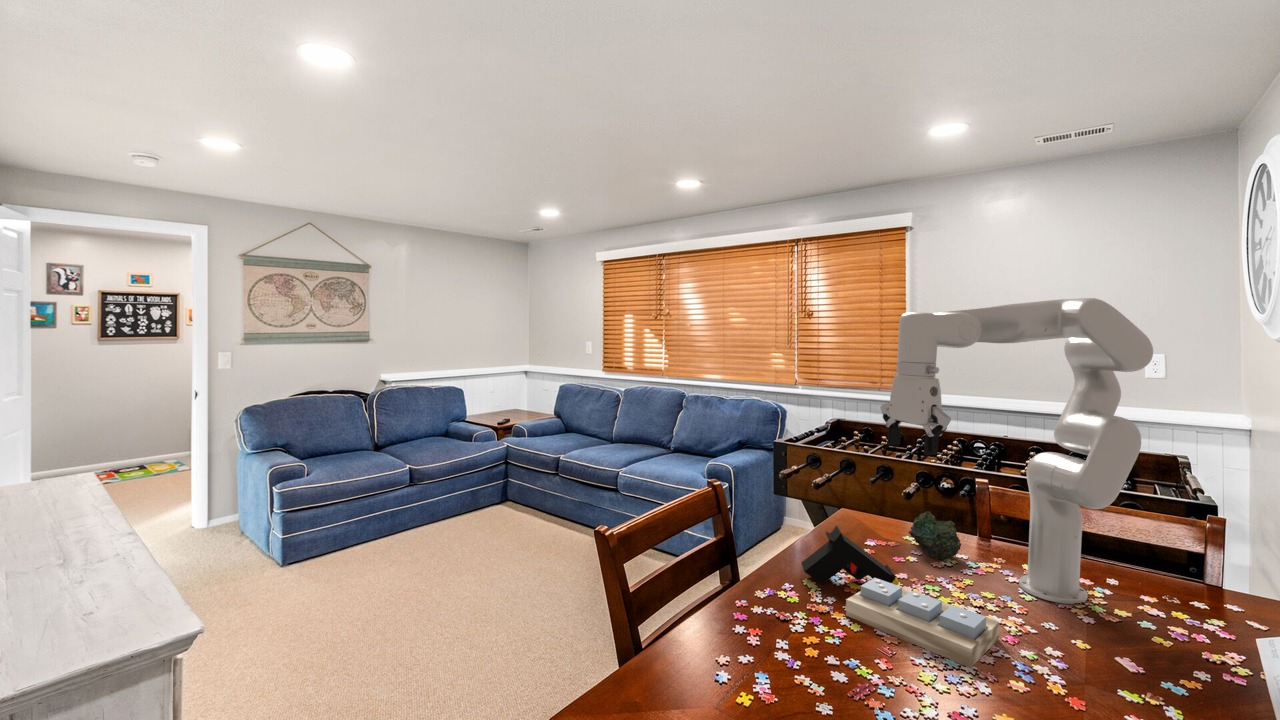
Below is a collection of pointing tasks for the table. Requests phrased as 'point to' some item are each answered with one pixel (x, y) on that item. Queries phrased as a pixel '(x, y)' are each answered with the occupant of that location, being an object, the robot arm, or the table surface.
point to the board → (923, 629)
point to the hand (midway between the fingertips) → (911, 449)
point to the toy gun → (844, 561)
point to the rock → (935, 536)
